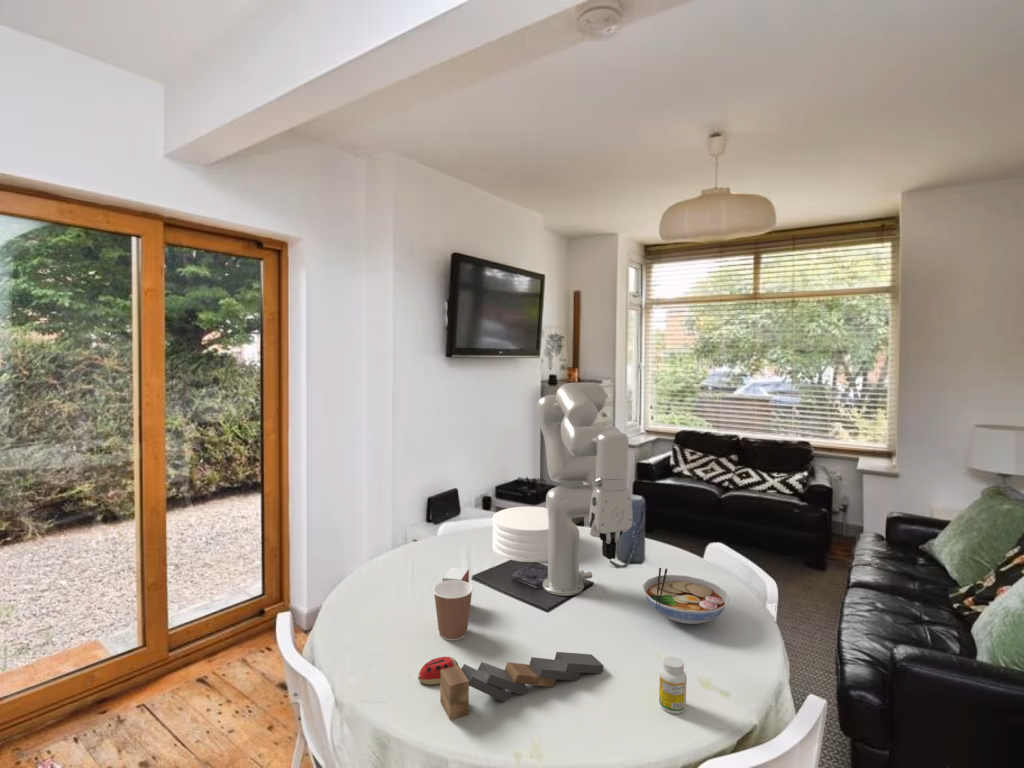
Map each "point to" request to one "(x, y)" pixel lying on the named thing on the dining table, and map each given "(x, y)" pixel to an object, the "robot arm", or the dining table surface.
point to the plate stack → (521, 534)
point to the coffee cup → (453, 608)
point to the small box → (457, 575)
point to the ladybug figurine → (435, 670)
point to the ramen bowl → (685, 598)
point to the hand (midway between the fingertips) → (608, 556)
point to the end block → (454, 692)
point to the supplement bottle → (672, 686)
